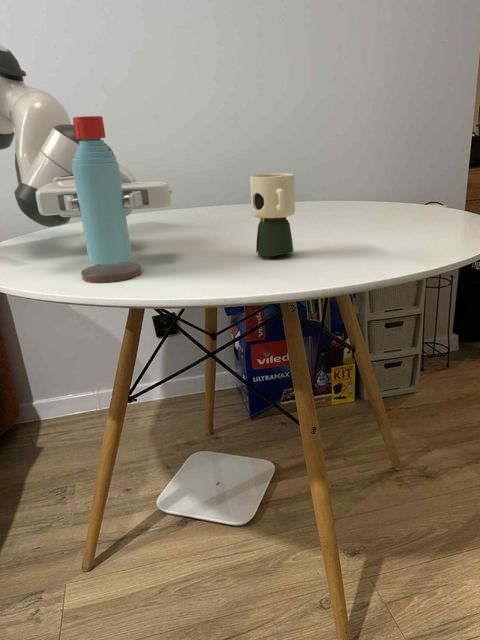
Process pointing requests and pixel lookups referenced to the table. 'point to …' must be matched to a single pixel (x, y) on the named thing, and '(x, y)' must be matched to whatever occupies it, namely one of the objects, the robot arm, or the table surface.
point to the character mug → (273, 212)
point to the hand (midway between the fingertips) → (100, 203)
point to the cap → (89, 127)
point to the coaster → (111, 272)
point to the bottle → (101, 203)
